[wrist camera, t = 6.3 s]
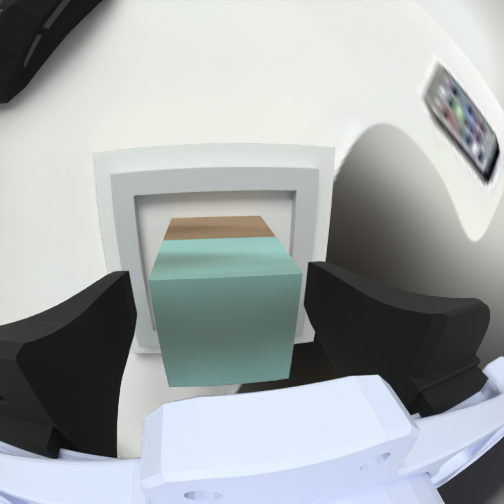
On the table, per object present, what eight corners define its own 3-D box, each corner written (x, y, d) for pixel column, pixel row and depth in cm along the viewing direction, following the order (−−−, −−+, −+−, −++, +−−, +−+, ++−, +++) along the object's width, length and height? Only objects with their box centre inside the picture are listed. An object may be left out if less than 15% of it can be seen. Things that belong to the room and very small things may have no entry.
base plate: (308, 331, 17) (316, 347, 16) (130, 342, 16) (126, 359, 14) (326, 147, 13) (340, 148, 12) (100, 152, 12) (88, 154, 10)
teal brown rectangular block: (257, 292, 14) (288, 378, 9) (178, 296, 14) (169, 386, 8) (260, 215, 13) (302, 273, 8) (171, 218, 12) (148, 280, 7)
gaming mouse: (-47, 121, 8) (-85, 125, 5) (92, -62, 6) (75, -92, 2) (-7, 167, 11) (-50, 180, 7) (155, -39, 8) (145, -77, 4)
